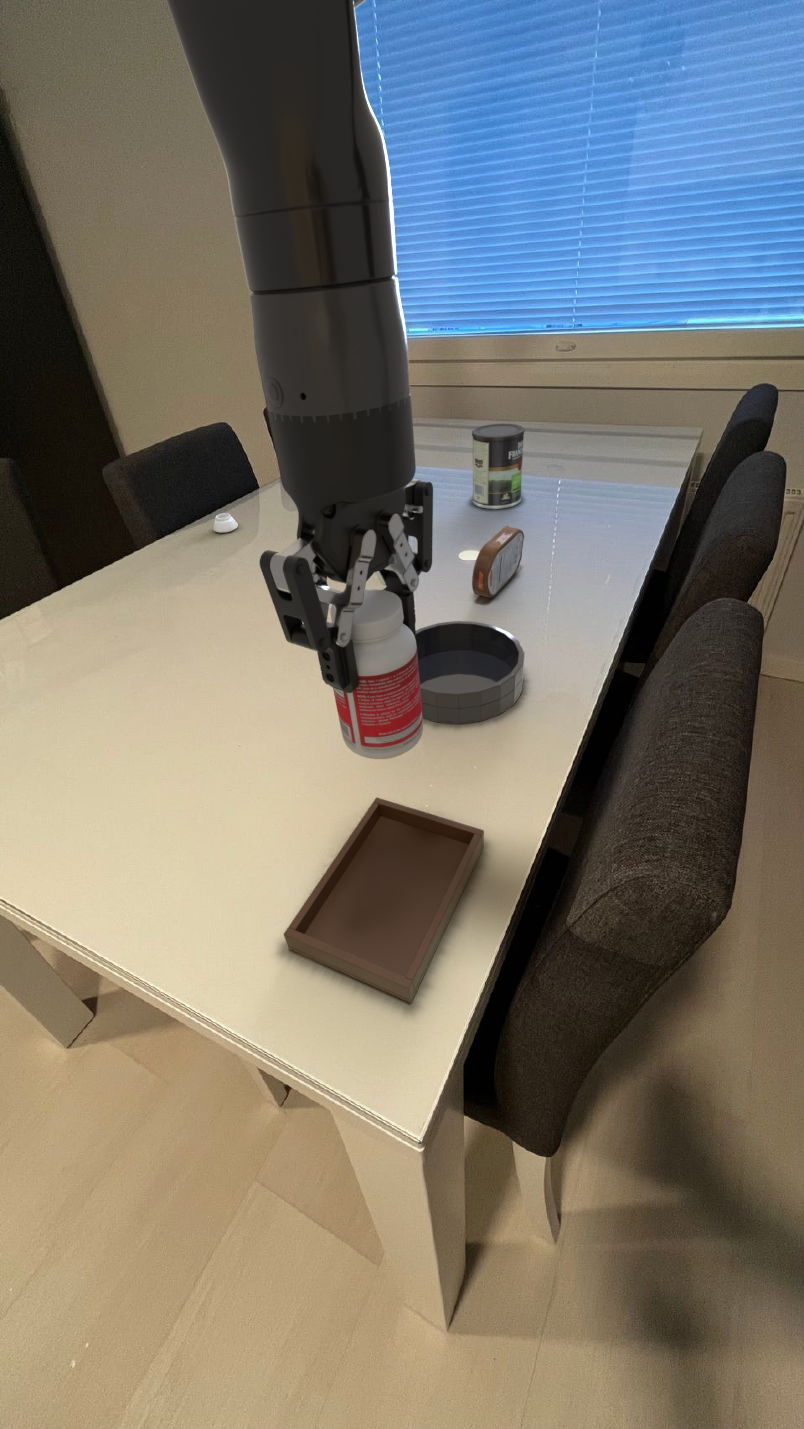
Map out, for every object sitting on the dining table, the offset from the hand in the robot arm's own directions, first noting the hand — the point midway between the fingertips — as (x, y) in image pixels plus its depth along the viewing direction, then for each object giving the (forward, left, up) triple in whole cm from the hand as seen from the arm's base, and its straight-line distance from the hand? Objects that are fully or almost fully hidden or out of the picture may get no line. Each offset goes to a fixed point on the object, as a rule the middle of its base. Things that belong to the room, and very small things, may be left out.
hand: (373, 660), depth 41 cm
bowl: (+17, -25, -23) cm, 38 cm away
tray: (-1, +2, -23) cm, 23 cm away
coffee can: (+57, -78, -24) cm, 99 cm away
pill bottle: (0, 0, -7) cm, 7 cm away
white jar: (+92, -32, -24) cm, 100 cm away
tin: (+31, -49, -24) cm, 62 cm away
